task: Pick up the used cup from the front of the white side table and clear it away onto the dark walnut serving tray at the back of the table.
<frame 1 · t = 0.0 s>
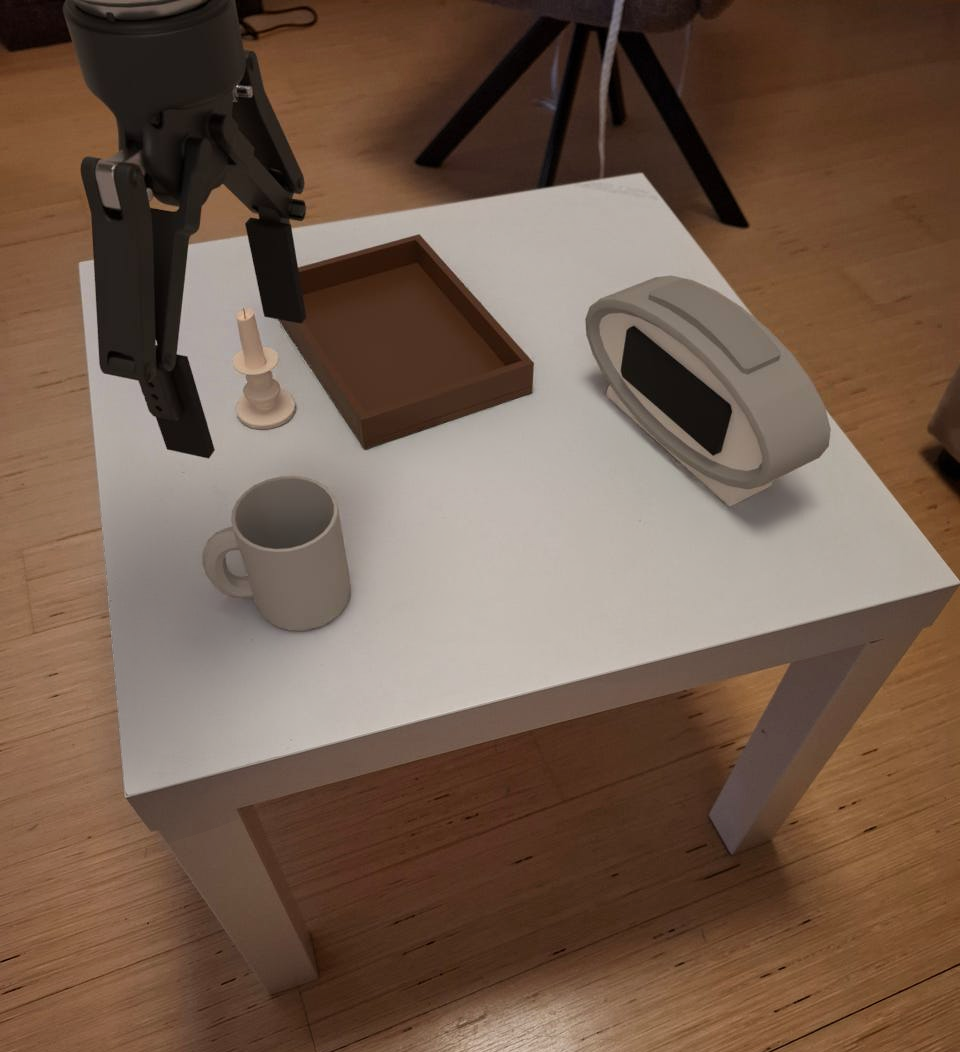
hand: (241, 379, 59), 18 cm above the table, tool pointing down, fingers open, 13 cm apart
cup: (286, 600, 71), on the table
tray: (395, 347, 89), on the table
candle: (266, 412, 84), on the table
alarm clock: (684, 441, 82), on the table
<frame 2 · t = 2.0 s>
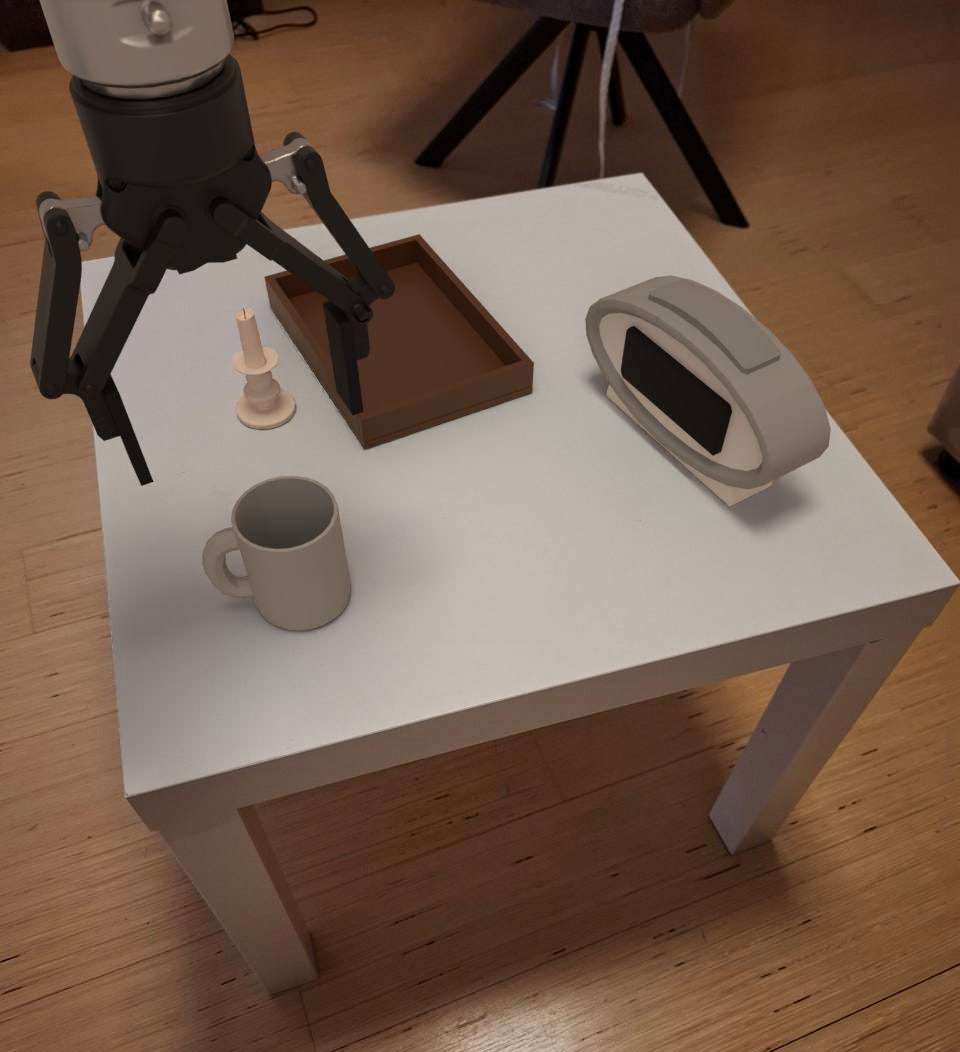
hand: (249, 435, 59), 16 cm above the table, tool pointing down, fingers open, 13 cm apart
nothing on the table moved.
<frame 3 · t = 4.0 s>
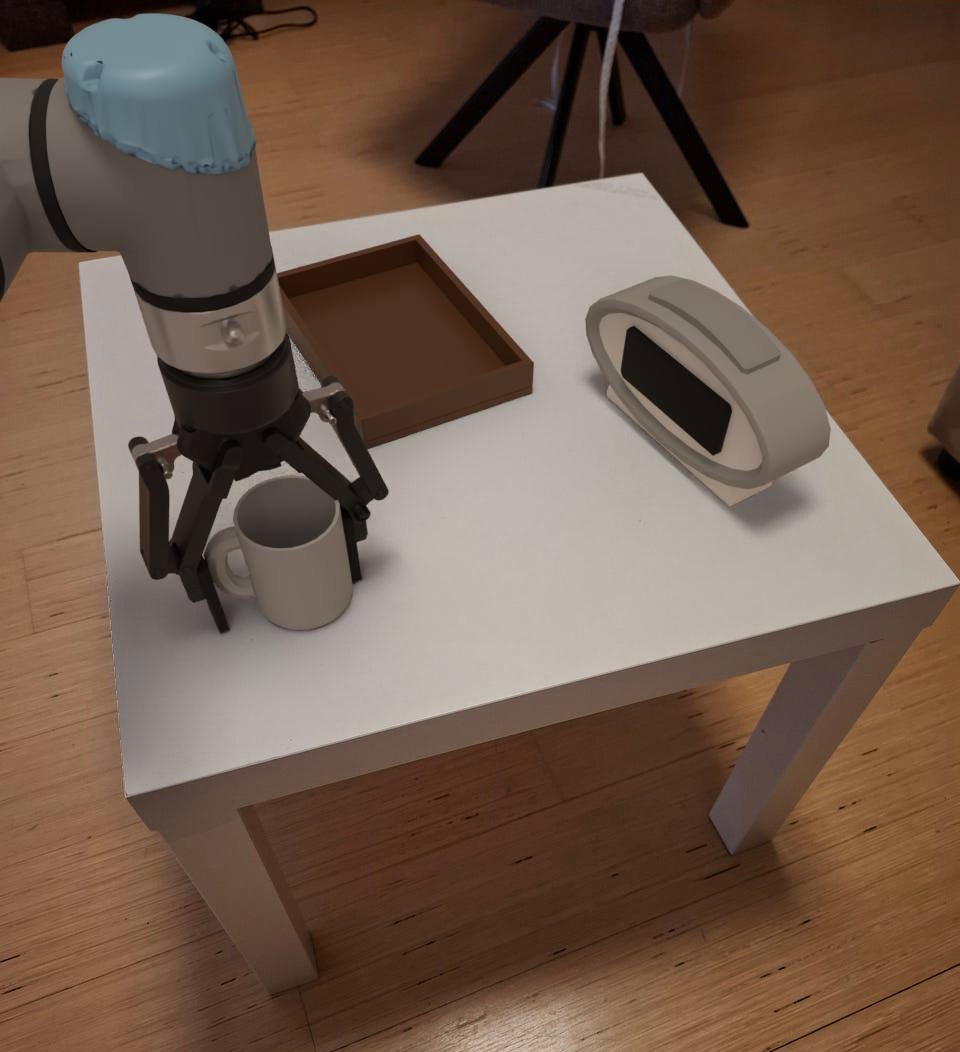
hand: (286, 593, 71), 0 cm above the table, tool pointing down, fingers closed on cup, 10 cm apart
cup: (287, 600, 71), on the table, touching gripper
everything else where it was.
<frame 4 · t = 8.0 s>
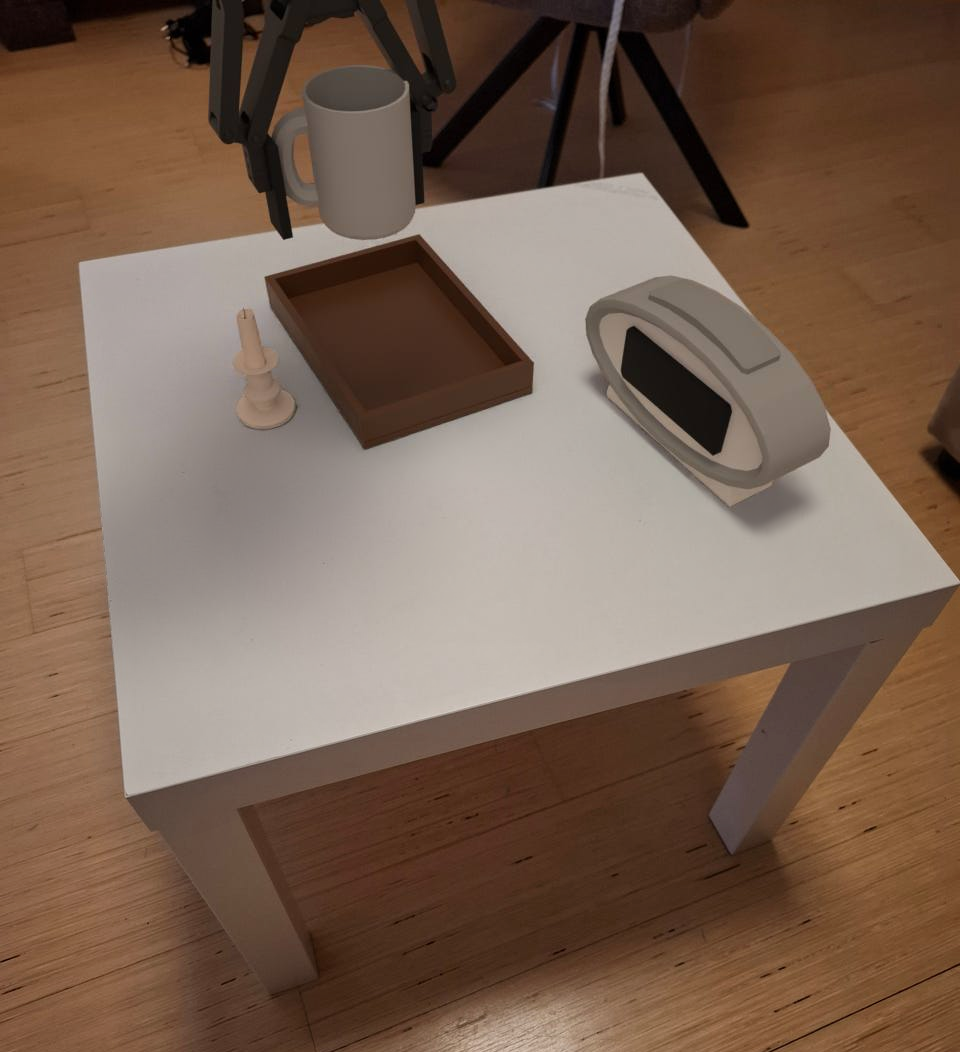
hand: (348, 212, 70), 18 cm above the table, tool pointing down, fingers closed on cup, 10 cm apart
cup: (349, 220, 70), point 17 cm above the table, touching gripper
everything else where it was.
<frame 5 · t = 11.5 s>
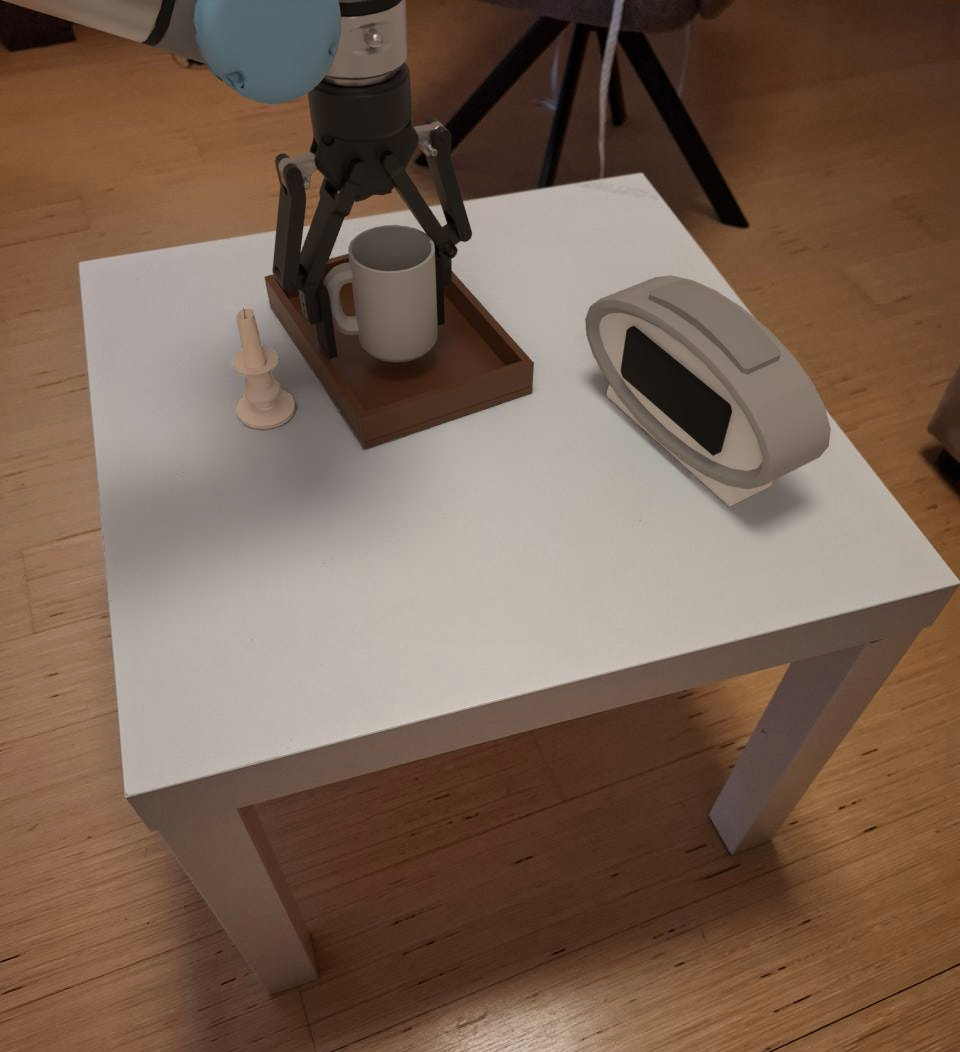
hand: (382, 332, 85), 4 cm above the table, tool pointing down, fingers closed on cup, 10 cm apart
cup: (383, 343, 85), point 3 cm above the table, touching gripper
everything else where it was.
when the fingers open (4 cm above the table, at t = 12.0 s): cup stays where it is, resting on tray.
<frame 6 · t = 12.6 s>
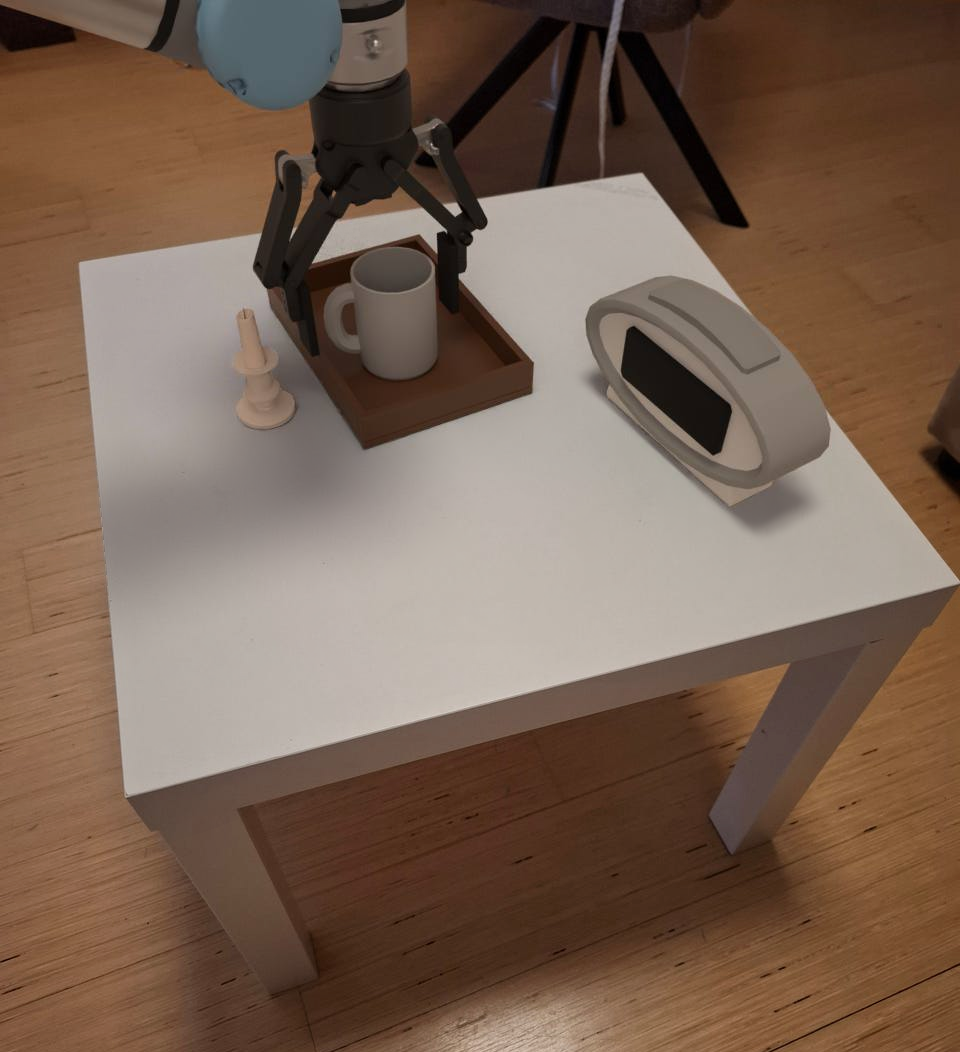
hand: (381, 326, 84), 4 cm above the table, tool pointing down, fingers open, 13 cm apart
cup: (384, 361, 87), point 1 cm above the table, touching tray
everything else where it was.
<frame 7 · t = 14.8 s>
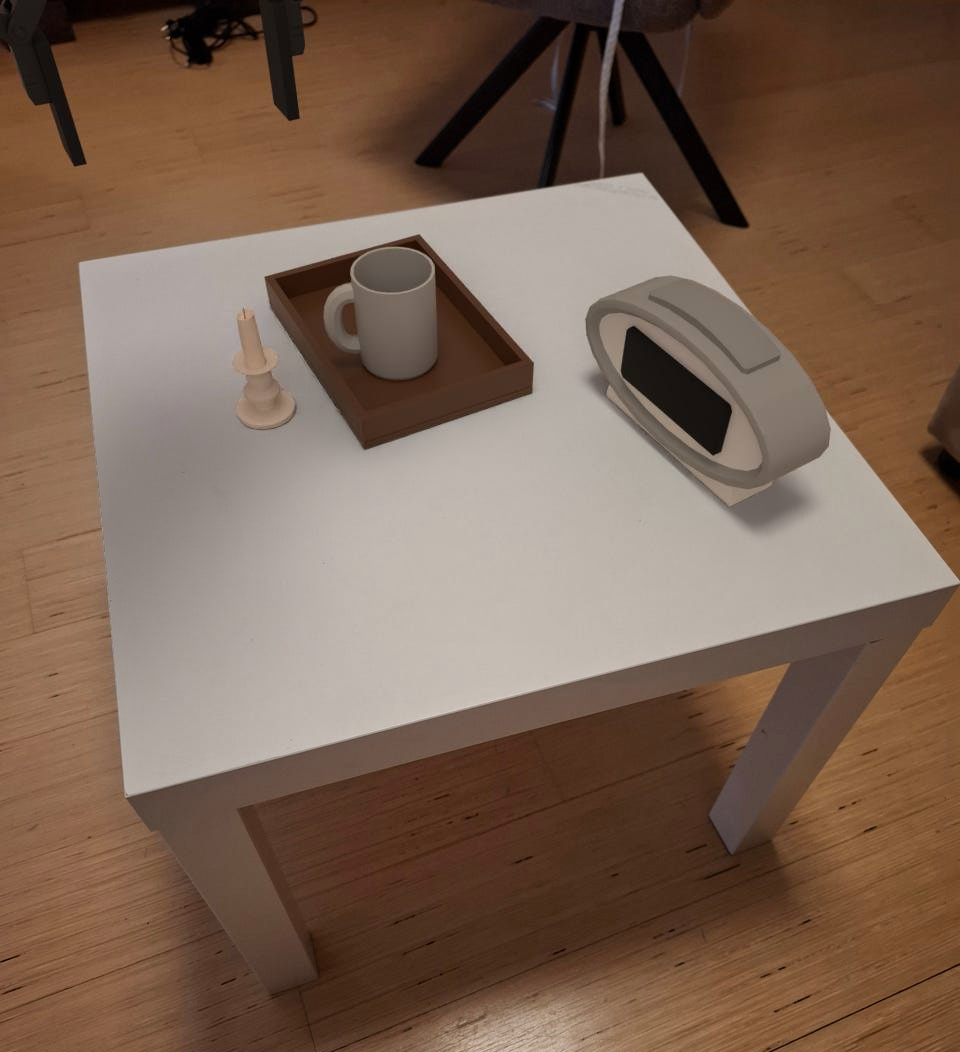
hand: (184, 133, 59), 27 cm above the table, tool pointing down, fingers open, 13 cm apart
nothing on the table moved.
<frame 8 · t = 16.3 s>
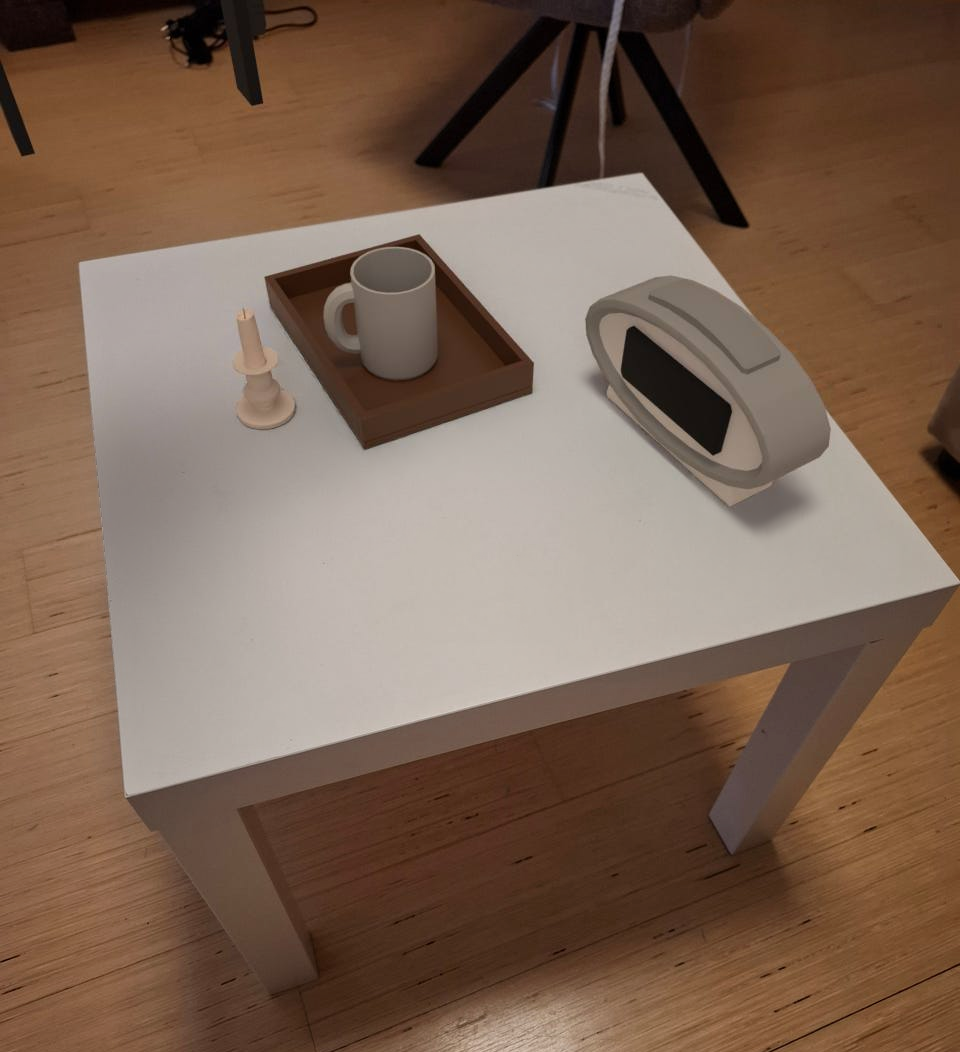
hand: (140, 120, 56), 29 cm above the table, tool pointing down, fingers open, 13 cm apart
nothing on the table moved.
at the end: cup inside the target area in the tray (3.0 cm from its centre), point 0.6 cm above the tray's base; cup tilted 0°; the gripper is holding nothing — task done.
